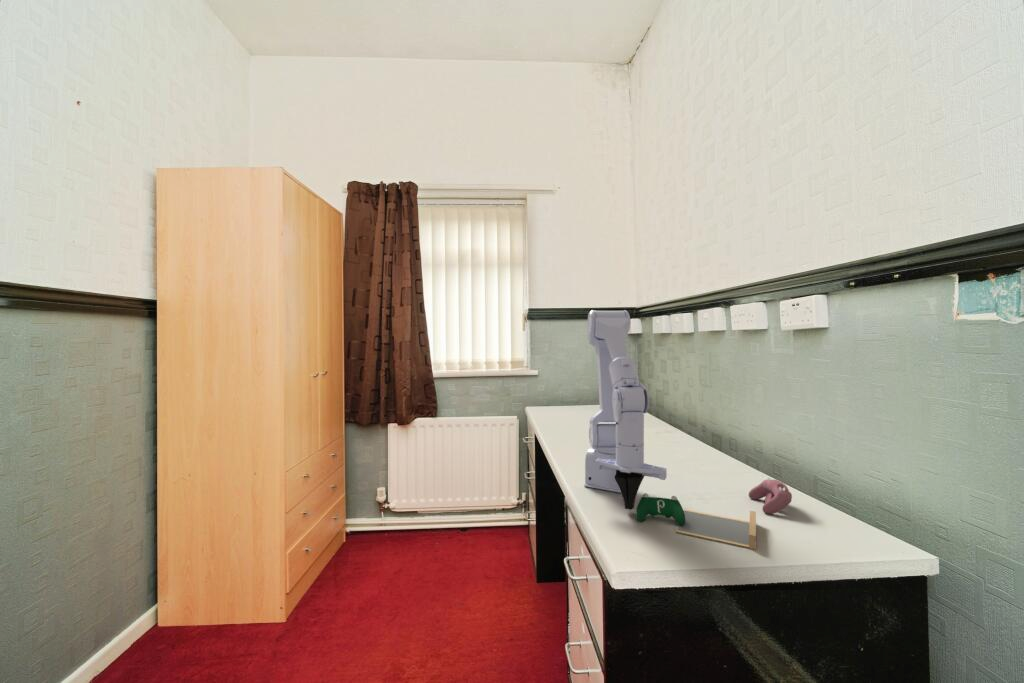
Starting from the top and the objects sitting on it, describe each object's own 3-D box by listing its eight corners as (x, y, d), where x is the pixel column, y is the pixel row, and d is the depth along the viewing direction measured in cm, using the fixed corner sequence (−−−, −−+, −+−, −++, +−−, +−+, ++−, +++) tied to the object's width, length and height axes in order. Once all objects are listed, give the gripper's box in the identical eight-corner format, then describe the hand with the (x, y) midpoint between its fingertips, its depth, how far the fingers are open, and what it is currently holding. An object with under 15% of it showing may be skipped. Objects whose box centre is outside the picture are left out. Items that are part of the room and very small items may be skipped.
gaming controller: (685, 531, 83) (683, 502, 87) (685, 523, 81) (683, 493, 85) (636, 526, 86) (637, 498, 90) (635, 518, 84) (636, 489, 88)
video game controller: (783, 523, 87) (800, 494, 86) (761, 512, 88) (778, 483, 87) (764, 505, 97) (780, 479, 96) (745, 495, 98) (760, 469, 97)
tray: (676, 532, 79) (676, 519, 79) (685, 510, 90) (685, 499, 90) (755, 549, 73) (755, 536, 73) (755, 523, 83) (755, 511, 83)
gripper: (590, 443, 89) (590, 507, 89) (661, 452, 82) (661, 522, 82) (601, 436, 95) (601, 496, 95) (668, 444, 88) (668, 509, 88)
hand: (629, 507), depth 89 cm, fingers closed
